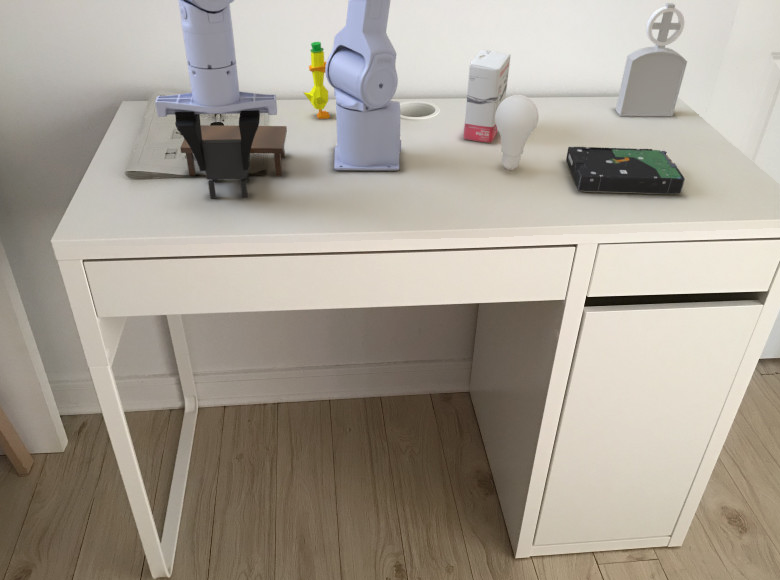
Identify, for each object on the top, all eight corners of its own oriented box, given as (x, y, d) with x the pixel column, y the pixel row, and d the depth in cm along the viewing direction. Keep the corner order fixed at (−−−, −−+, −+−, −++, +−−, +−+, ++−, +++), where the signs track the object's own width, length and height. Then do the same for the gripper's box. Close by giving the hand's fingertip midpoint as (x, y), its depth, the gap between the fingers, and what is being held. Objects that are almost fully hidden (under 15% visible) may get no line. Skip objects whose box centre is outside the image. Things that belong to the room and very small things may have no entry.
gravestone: (615, 110, 128) (639, 1, 117) (666, 110, 128) (695, 2, 117) (620, 116, 126) (644, 5, 114) (672, 116, 126) (702, 6, 115)
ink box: (491, 144, 114) (500, 68, 107) (461, 139, 115) (468, 64, 108) (503, 125, 121) (512, 52, 113) (474, 120, 122) (481, 48, 114)
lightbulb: (506, 157, 111) (515, 85, 104) (538, 170, 107) (550, 97, 100) (480, 168, 107) (488, 95, 100) (512, 182, 104) (523, 107, 97)
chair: (249, 178, 102) (243, 124, 97) (247, 199, 97) (241, 142, 92) (213, 179, 101) (205, 124, 96) (209, 200, 97) (201, 143, 92)
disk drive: (577, 194, 102) (681, 196, 102) (581, 176, 100) (687, 177, 100) (564, 163, 110) (660, 164, 110) (567, 145, 108) (665, 147, 108)
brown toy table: (288, 154, 109) (286, 125, 106) (284, 177, 103) (282, 148, 100) (194, 153, 108) (190, 125, 105) (185, 177, 102) (180, 147, 99)
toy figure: (342, 111, 123) (340, 38, 116) (346, 119, 120) (345, 44, 113) (302, 114, 122) (298, 40, 114) (306, 122, 119) (302, 47, 112)
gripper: (273, 51, 90) (281, 153, 99) (154, 51, 88) (172, 155, 97) (272, 69, 85) (281, 176, 93) (145, 70, 83) (165, 179, 91)
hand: (225, 167), depth 95 cm, fingers closed on chair, 5 cm apart
